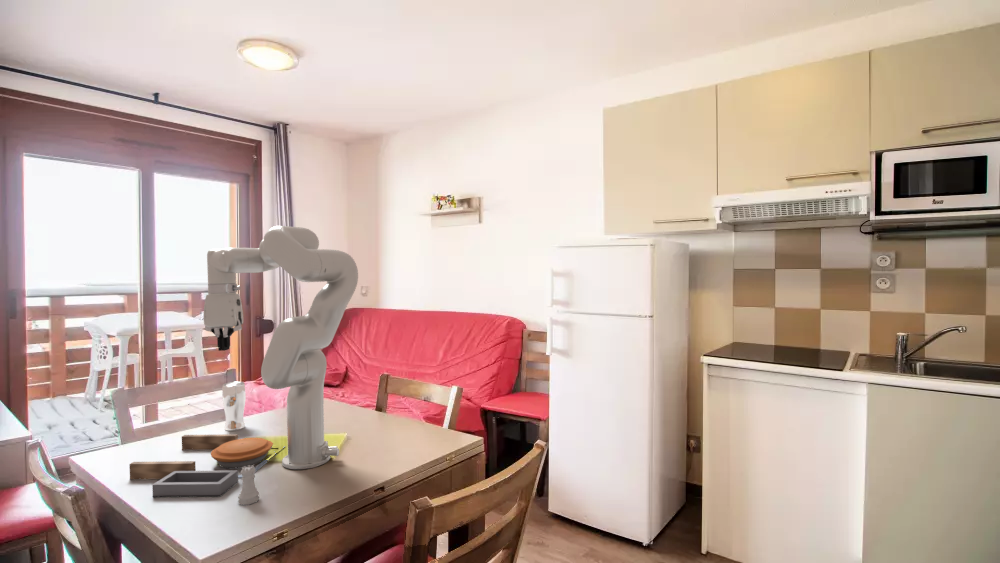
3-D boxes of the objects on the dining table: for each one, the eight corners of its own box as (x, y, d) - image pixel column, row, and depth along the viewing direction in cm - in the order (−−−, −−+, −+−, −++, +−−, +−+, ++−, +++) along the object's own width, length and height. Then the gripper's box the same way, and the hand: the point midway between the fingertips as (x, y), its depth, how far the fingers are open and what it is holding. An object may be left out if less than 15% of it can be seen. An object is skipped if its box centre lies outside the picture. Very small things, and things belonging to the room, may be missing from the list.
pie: (220, 453, 147) (220, 436, 147) (278, 448, 151) (277, 432, 150) (202, 475, 132) (202, 456, 132) (266, 468, 136) (266, 450, 135)
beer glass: (218, 430, 169) (217, 385, 168) (236, 423, 175) (235, 380, 175) (233, 432, 166) (232, 387, 166) (251, 426, 172) (249, 382, 172)
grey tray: (238, 482, 127) (237, 470, 127) (220, 496, 119) (220, 484, 119) (174, 482, 127) (174, 471, 127) (152, 497, 119) (152, 484, 119)
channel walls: (238, 447, 152) (237, 434, 152) (192, 478, 129) (191, 463, 129) (185, 448, 152) (184, 434, 152) (130, 479, 129) (129, 464, 129)
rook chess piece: (242, 497, 118) (242, 463, 118) (262, 496, 119) (261, 462, 119) (234, 506, 114) (233, 471, 114) (255, 505, 114) (254, 470, 114)
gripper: (253, 288, 157) (254, 347, 157) (205, 289, 157) (206, 348, 157) (240, 290, 149) (242, 351, 150) (190, 290, 149) (191, 352, 150)
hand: (224, 349), depth 154 cm, fingers closed
